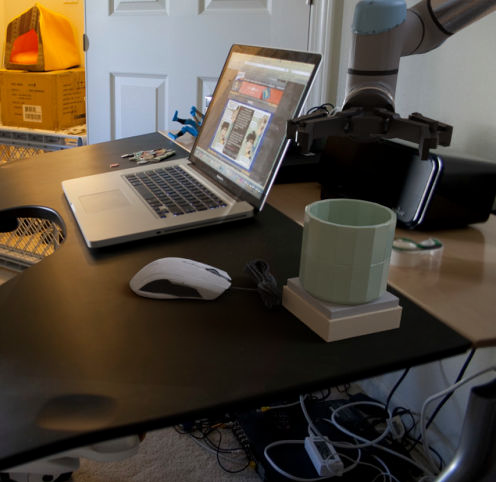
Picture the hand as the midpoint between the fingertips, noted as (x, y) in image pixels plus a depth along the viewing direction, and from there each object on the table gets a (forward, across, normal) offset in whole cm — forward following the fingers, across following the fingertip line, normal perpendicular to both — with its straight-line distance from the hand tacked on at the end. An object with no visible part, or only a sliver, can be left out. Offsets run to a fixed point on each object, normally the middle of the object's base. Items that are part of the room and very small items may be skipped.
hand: (363, 146), depth 77 cm
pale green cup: (+13, +1, -13) cm, 19 cm away
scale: (+13, +1, -16) cm, 21 cm away
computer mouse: (+12, +17, -16) cm, 26 cm away
